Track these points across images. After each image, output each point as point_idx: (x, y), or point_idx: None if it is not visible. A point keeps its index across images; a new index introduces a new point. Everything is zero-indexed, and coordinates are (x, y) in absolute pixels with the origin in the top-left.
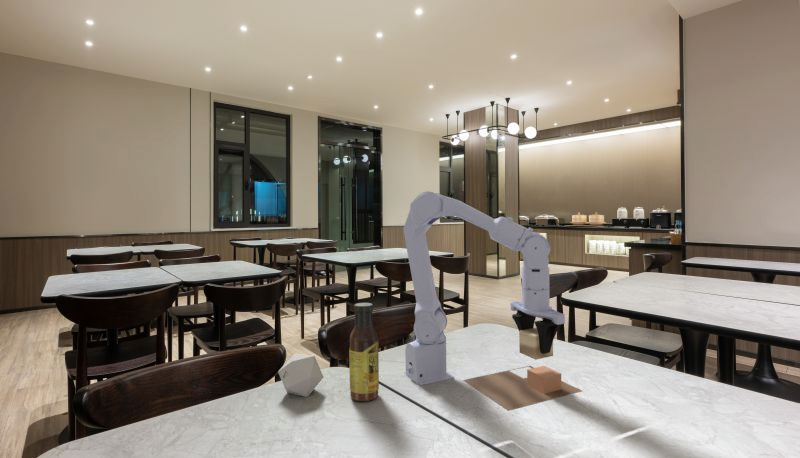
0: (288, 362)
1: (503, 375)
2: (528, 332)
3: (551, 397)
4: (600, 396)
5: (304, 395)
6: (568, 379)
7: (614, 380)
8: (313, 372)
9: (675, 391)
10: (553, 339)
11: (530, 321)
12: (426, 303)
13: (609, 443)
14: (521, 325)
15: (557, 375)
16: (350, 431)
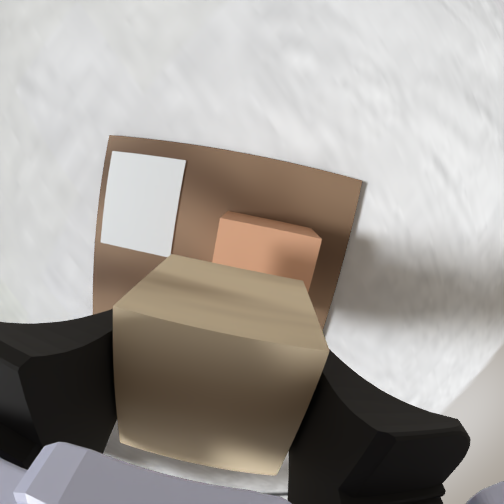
0: None
1: (117, 288)
2: (184, 447)
3: (321, 307)
4: (405, 163)
5: None
6: (267, 111)
7: (363, 17)
8: None
9: (470, 9)
10: (351, 371)
11: (79, 395)
12: None
13: (472, 361)
14: (102, 448)
15: (315, 259)
16: None
